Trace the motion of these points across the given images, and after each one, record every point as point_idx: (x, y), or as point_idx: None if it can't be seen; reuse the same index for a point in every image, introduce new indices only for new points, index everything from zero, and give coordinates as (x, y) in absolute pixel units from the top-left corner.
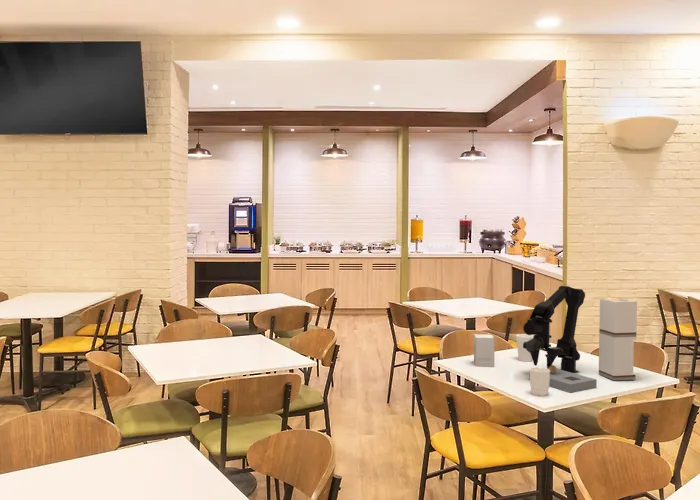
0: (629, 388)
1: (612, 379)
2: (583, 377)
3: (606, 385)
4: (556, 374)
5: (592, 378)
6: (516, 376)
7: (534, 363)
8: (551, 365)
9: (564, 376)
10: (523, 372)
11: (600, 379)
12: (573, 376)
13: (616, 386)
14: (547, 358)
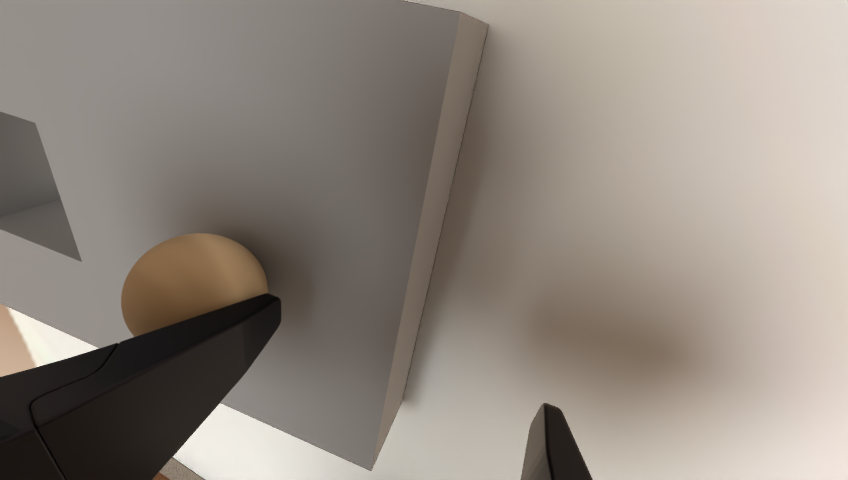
0: (33, 353)
1: (172, 461)
2: (37, 292)
3: (94, 346)
4: (177, 233)
5: (5, 304)
6: (820, 73)
7: (554, 433)
8: (144, 321)
9: (85, 208)
10: (776, 374)
11: (199, 444)
12: (73, 270)
13: (70, 355)
14: (9, 418)
